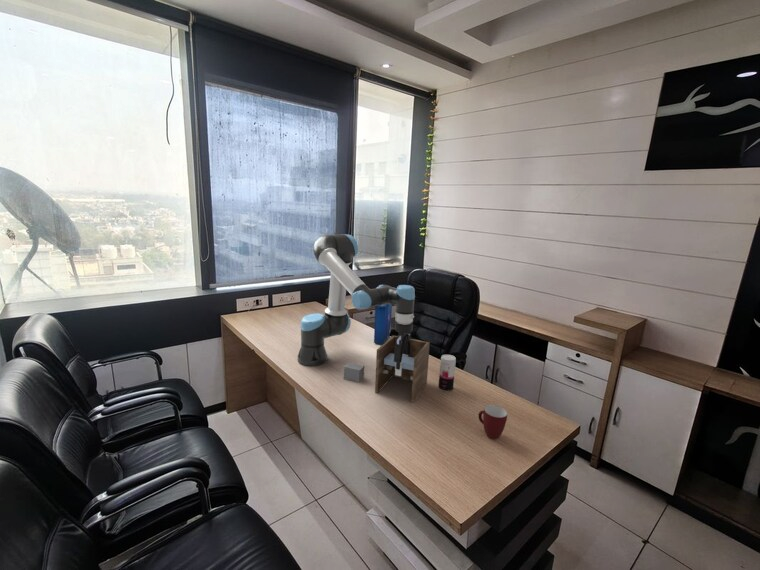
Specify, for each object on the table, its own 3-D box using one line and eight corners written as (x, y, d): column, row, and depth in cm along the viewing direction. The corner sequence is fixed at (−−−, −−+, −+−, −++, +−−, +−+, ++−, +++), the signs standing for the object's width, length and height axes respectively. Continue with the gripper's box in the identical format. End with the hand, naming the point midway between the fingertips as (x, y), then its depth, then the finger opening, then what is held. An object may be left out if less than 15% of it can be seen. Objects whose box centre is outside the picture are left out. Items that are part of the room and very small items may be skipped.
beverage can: (445, 393, 157) (448, 361, 154) (435, 386, 163) (438, 356, 159) (456, 389, 161) (459, 358, 157) (446, 383, 166) (448, 353, 163)
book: (384, 346, 207) (386, 304, 201) (372, 344, 208) (374, 303, 203) (390, 333, 227) (392, 295, 222) (379, 332, 229) (381, 294, 223)
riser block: (343, 378, 166) (343, 366, 165) (348, 374, 171) (349, 362, 169) (359, 382, 163) (359, 370, 162) (363, 377, 168) (364, 366, 166)
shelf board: (383, 364, 155) (384, 358, 155) (389, 358, 161) (390, 352, 161) (414, 370, 150) (415, 365, 149) (419, 364, 156) (419, 359, 156)
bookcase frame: (374, 392, 155) (376, 349, 151) (391, 374, 172) (393, 335, 168) (414, 402, 148) (417, 358, 144) (426, 382, 166) (429, 342, 161)
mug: (470, 431, 131) (473, 407, 129) (482, 423, 136) (484, 399, 134) (497, 446, 123) (500, 420, 121) (508, 436, 129) (511, 411, 127)
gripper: (404, 330, 141) (401, 383, 146) (419, 316, 159) (416, 364, 164) (387, 327, 144) (384, 379, 149) (403, 314, 162) (400, 361, 167)
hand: (401, 371), depth 156 cm, fingers closed on shelf board, 7 cm apart
